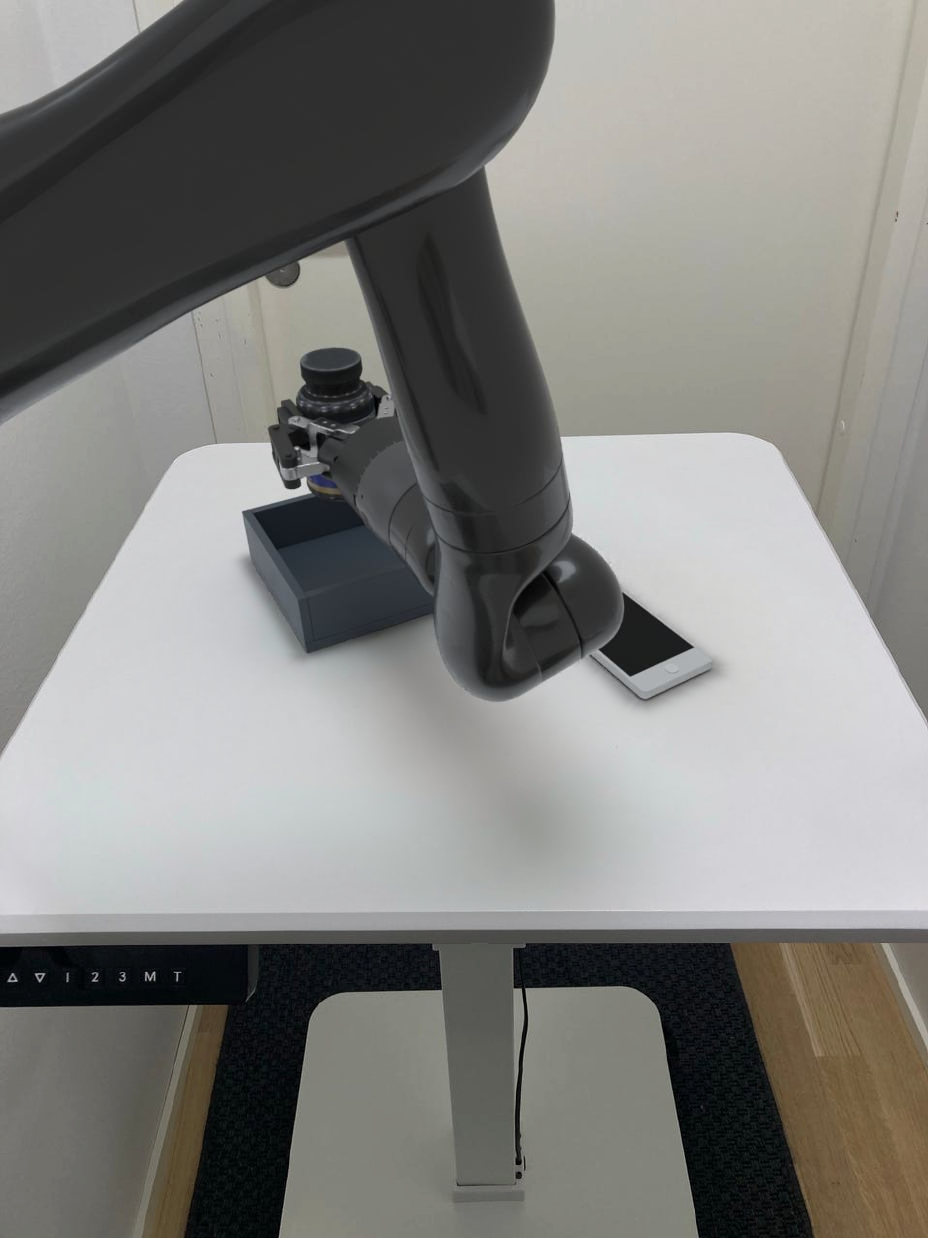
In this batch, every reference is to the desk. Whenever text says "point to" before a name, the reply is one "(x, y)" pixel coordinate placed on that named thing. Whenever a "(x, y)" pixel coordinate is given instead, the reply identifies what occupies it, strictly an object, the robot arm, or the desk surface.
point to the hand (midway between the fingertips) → (326, 401)
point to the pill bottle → (333, 399)
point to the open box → (330, 571)
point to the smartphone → (650, 652)
